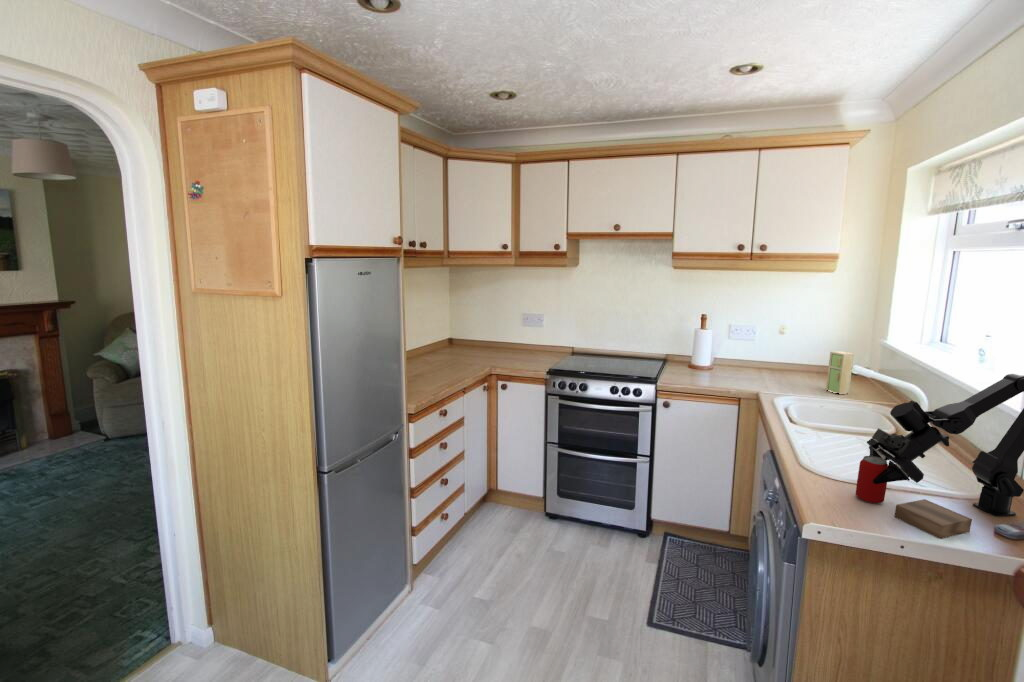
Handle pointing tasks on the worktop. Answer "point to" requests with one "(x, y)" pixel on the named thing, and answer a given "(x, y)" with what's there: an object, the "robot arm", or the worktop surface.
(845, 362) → the toy refrigerator
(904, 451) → the robot arm
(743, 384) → the worktop surface
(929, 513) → the walnut block
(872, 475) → the beverage can
